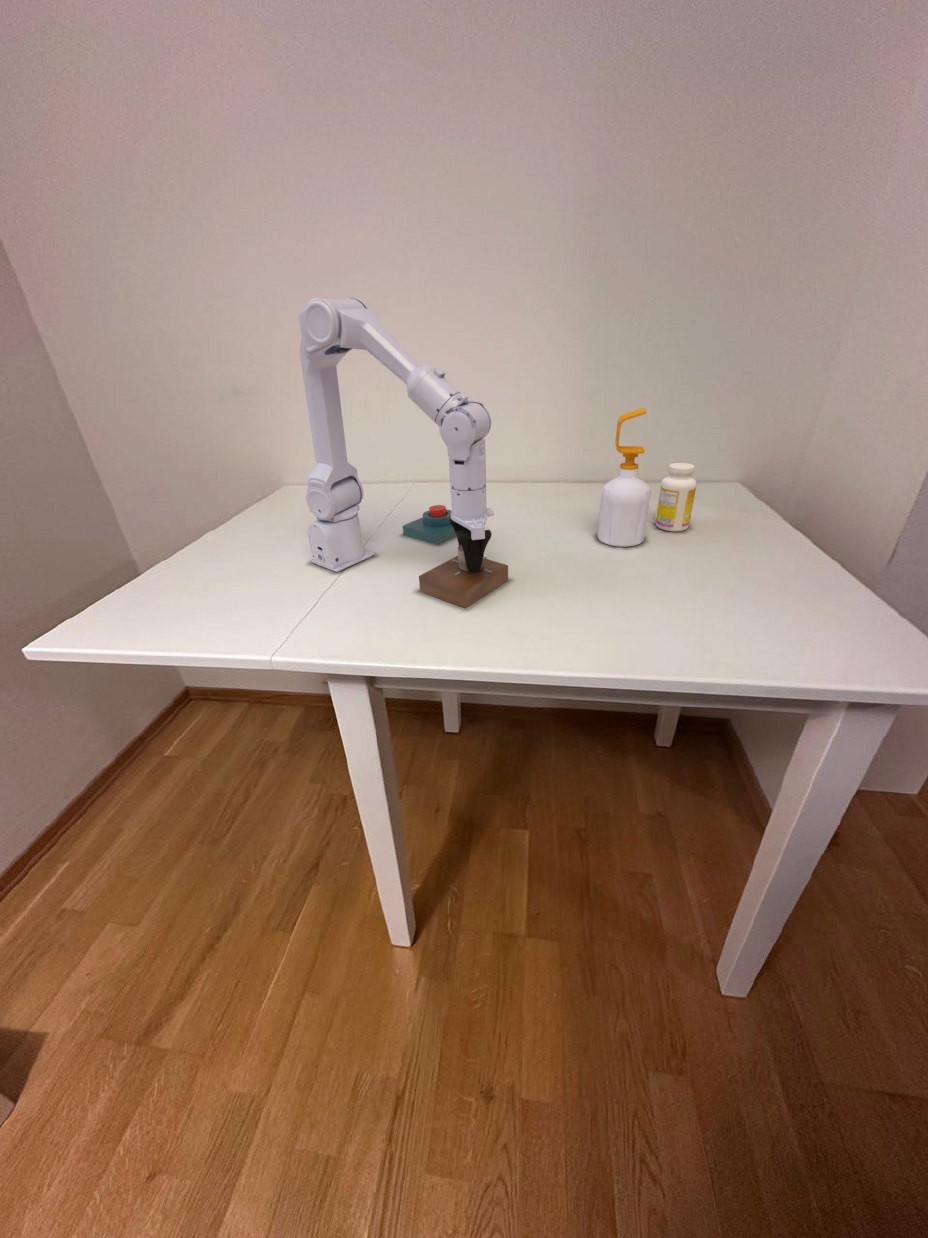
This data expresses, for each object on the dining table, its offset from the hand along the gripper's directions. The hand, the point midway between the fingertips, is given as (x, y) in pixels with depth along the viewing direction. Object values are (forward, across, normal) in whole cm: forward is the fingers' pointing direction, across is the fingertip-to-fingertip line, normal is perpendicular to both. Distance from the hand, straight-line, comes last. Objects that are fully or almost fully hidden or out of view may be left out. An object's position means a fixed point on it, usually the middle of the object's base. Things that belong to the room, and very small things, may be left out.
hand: (471, 563), depth 88 cm
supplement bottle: (+4, +14, -46) cm, 48 cm away
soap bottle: (+4, +11, -33) cm, 35 cm away
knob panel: (+3, -1, +2) cm, 4 cm away
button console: (+3, +26, +2) cm, 26 cm away
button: (0, +26, +2) cm, 26 cm away
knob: (0, 0, 0) cm, 0 cm away
